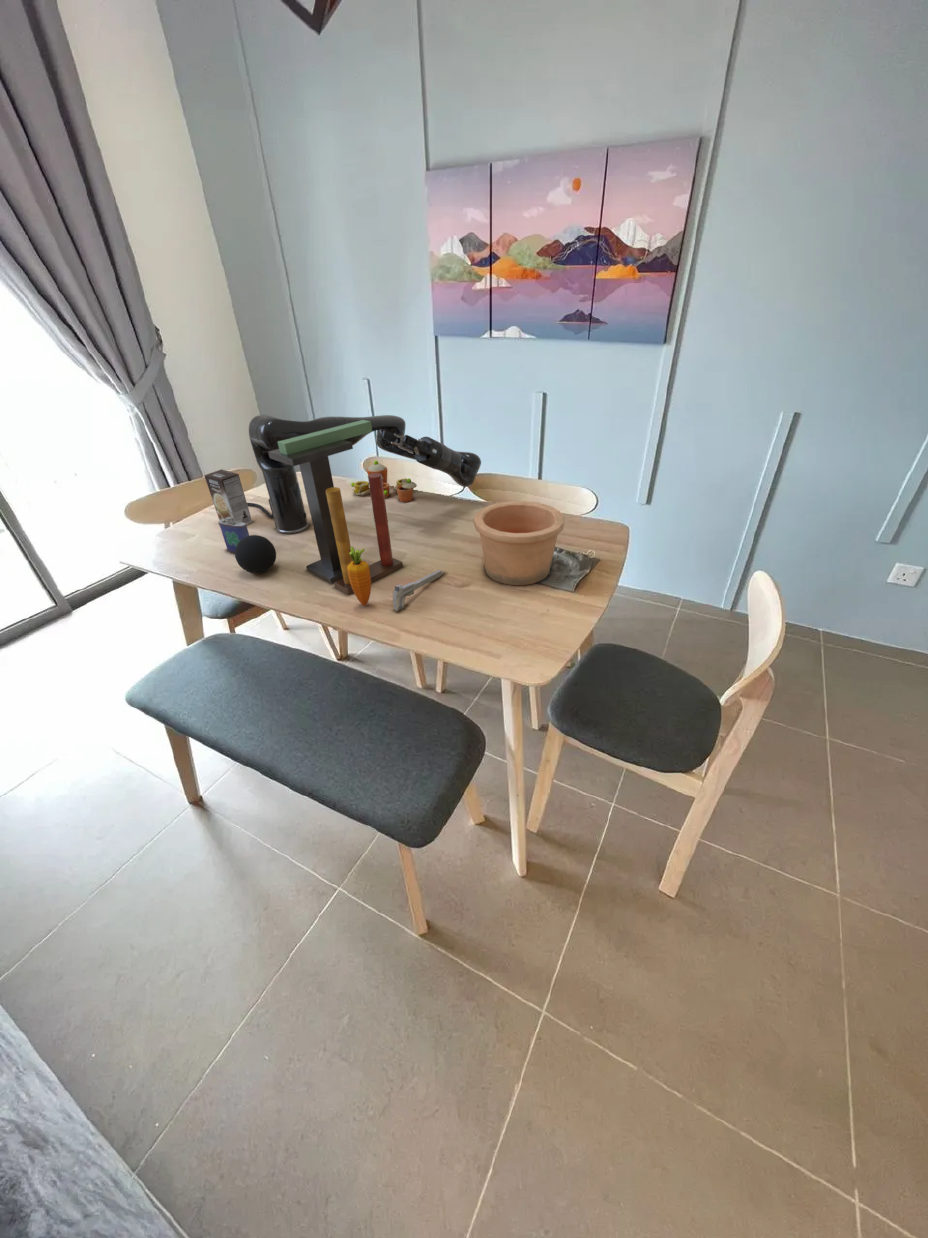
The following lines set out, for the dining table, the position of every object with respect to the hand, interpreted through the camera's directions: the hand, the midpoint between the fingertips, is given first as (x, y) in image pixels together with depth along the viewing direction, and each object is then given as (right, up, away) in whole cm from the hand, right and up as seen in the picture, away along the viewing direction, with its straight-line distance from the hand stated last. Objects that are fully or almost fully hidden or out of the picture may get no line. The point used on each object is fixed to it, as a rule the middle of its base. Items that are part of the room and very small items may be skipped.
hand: (393, 436), depth 130 cm
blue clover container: (-46, -29, +12) cm, 56 cm away
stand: (-15, -35, +1) cm, 38 cm away
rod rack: (-6, -37, -3) cm, 38 cm away
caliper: (+8, -42, -10) cm, 44 cm away
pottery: (+32, -36, -2) cm, 48 cm away
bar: (-13, -6, -14) cm, 20 cm away
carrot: (-5, -45, -14) cm, 48 cm away
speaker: (-36, -36, +2) cm, 51 cm away
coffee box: (-55, -17, +30) cm, 65 cm away
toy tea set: (-8, -3, +47) cm, 48 cm away
